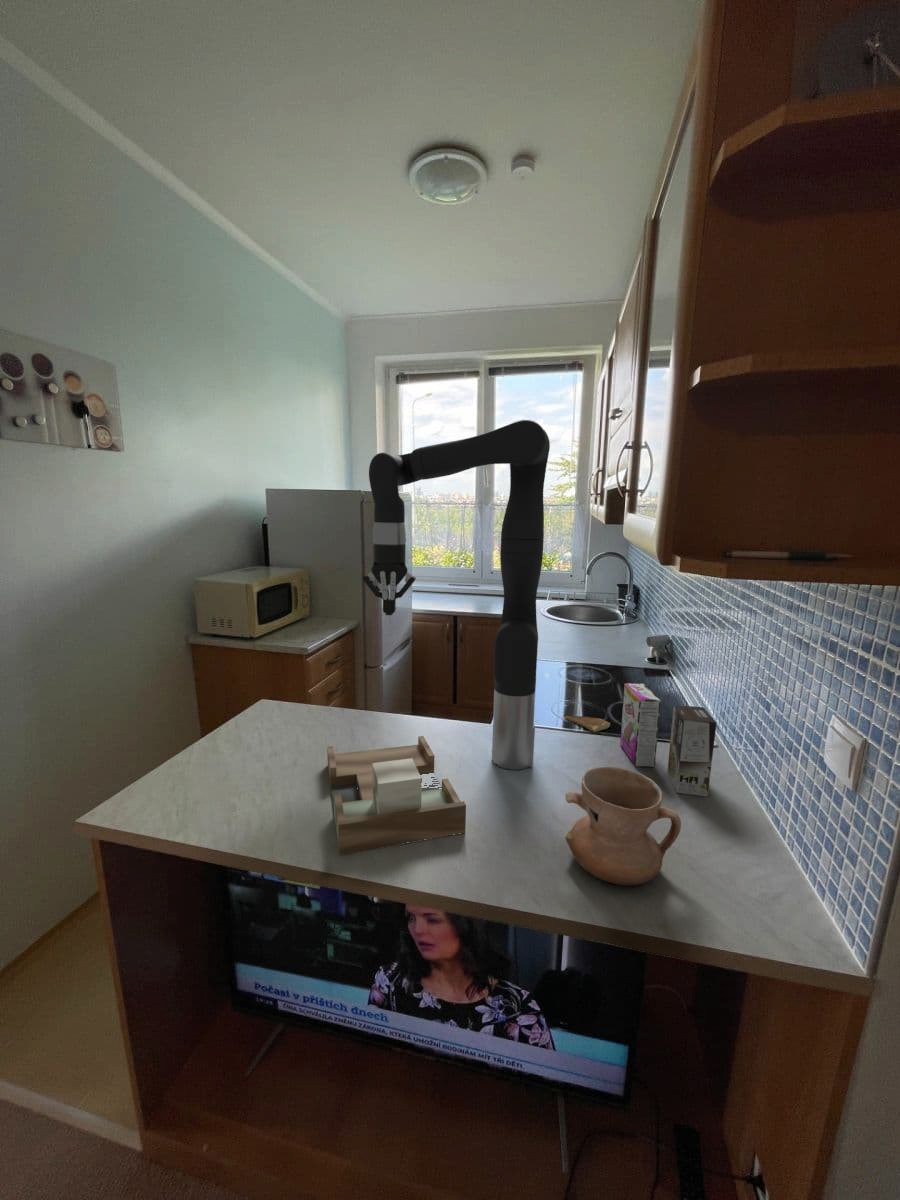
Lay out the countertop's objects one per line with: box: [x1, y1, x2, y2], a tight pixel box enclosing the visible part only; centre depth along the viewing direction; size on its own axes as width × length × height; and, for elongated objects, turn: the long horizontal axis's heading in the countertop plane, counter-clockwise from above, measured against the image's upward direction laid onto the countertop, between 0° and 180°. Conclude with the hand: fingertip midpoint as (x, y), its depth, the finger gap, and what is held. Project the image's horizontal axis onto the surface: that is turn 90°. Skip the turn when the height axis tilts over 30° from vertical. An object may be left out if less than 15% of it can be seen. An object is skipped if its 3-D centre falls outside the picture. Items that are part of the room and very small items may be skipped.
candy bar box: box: [619, 682, 662, 768], centre depth 119 cm, size 11×5×16 cm, turn 179°
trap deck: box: [326, 735, 467, 856], centre depth 101 cm, size 31×22×6 cm
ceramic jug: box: [564, 765, 682, 886], centre depth 81 cm, size 18×14×14 cm
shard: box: [563, 714, 611, 733], centre depth 139 cm, size 11×8×2 cm
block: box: [372, 758, 422, 815], centre depth 91 cm, size 8×8×8 cm
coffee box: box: [666, 704, 718, 797], centre depth 107 cm, size 9×6×16 cm
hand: (389, 614), depth 121 cm, fingers closed
